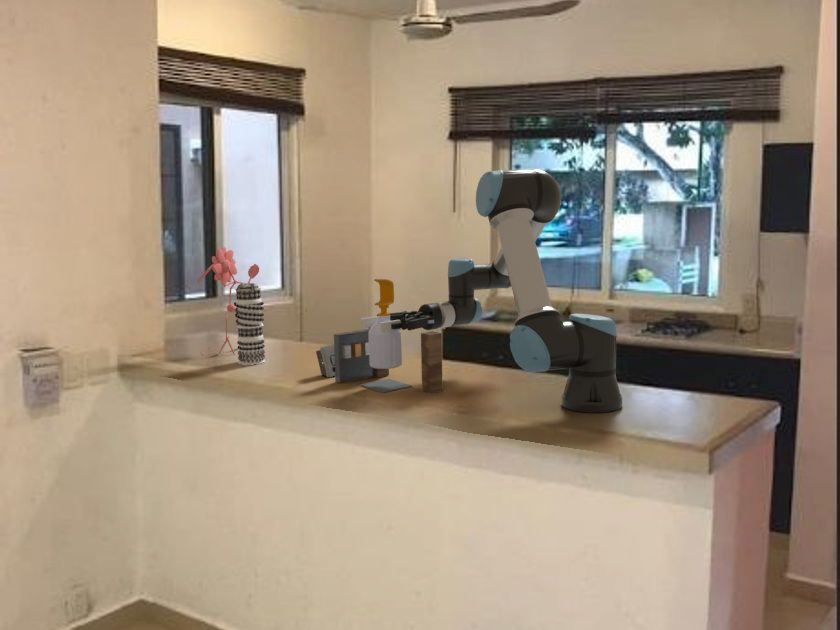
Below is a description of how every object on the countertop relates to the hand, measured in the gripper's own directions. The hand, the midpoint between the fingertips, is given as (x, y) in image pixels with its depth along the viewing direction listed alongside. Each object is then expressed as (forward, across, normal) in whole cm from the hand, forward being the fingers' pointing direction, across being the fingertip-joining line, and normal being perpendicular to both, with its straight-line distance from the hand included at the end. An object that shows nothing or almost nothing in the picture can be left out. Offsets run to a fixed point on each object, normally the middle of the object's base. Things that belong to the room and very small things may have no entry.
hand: (370, 325), depth 260 cm
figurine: (+6, +78, -18) cm, 80 cm away
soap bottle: (-5, 0, -12) cm, 13 cm away
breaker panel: (-3, +13, -18) cm, 22 cm away
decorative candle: (+9, +55, -18) cm, 58 cm away
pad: (-5, 0, -18) cm, 18 cm away
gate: (-11, 0, -18) cm, 21 cm away
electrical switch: (-2, +23, -18) cm, 29 cm away
